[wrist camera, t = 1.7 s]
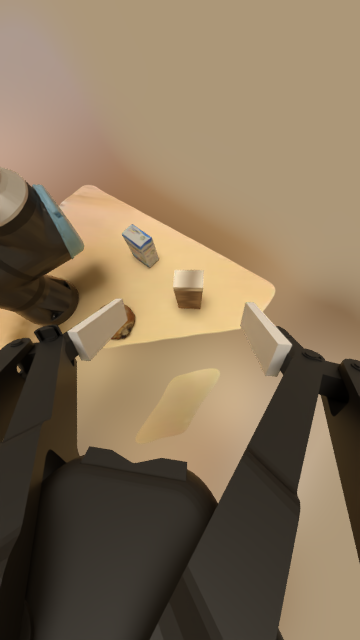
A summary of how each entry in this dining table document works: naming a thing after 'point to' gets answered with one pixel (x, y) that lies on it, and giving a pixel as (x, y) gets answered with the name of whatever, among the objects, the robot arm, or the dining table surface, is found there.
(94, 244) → the dining table surface
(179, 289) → the walnut block
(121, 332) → the bread roll
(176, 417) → the dining table surface
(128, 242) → the medicine box
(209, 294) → the dining table surface
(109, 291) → the dining table surface
